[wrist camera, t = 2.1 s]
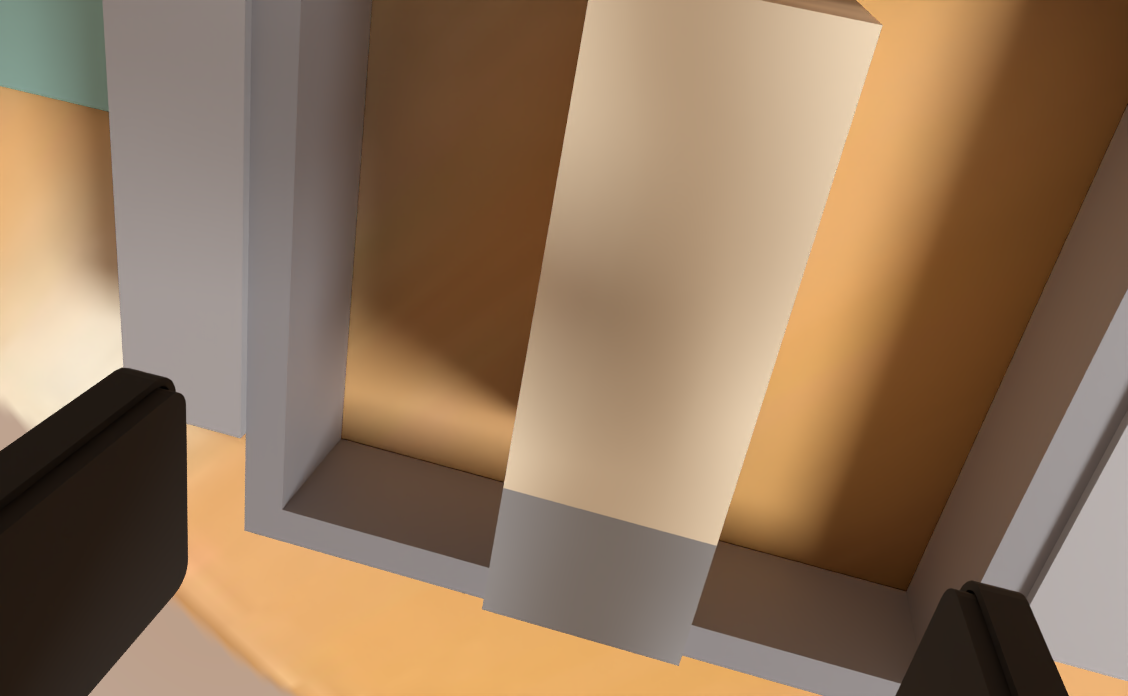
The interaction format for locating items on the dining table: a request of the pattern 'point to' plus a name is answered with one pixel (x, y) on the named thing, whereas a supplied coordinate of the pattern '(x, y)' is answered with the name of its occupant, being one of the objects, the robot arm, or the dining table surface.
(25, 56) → the mat
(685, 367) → the block
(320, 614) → the dining table surface
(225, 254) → the open square frame
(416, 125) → the dining table surface
